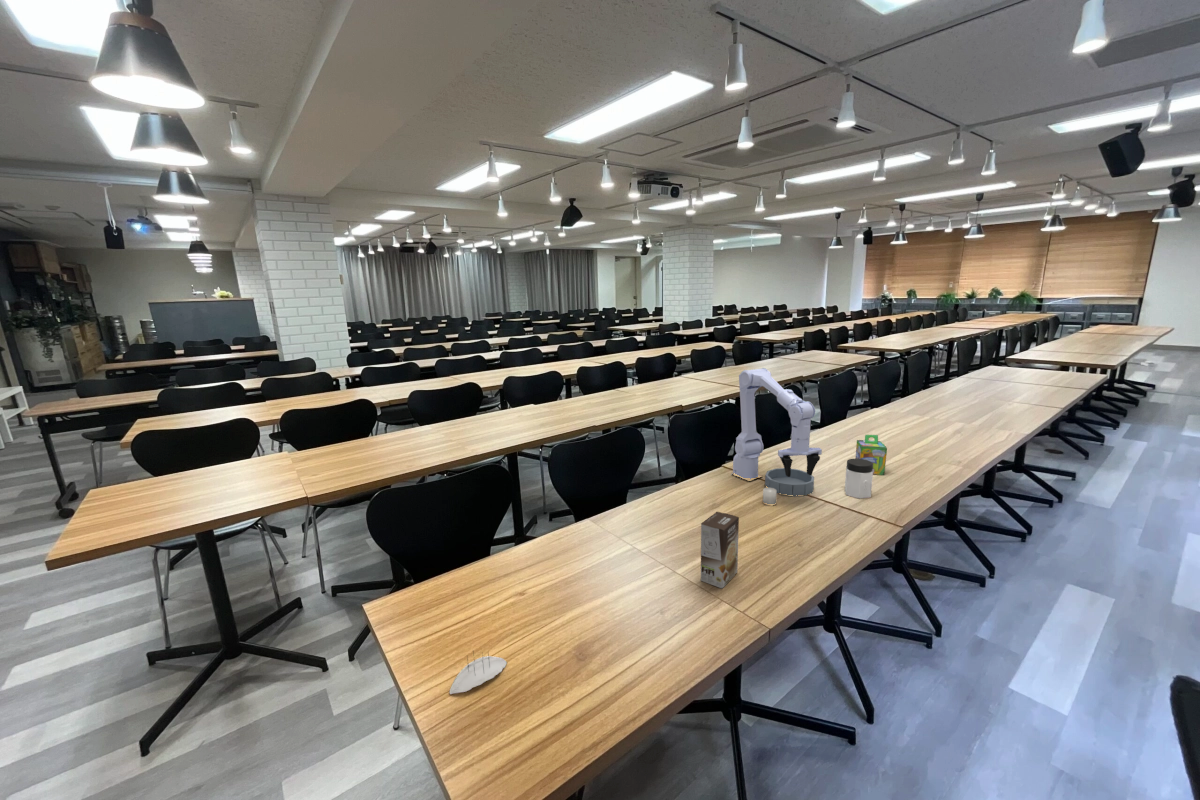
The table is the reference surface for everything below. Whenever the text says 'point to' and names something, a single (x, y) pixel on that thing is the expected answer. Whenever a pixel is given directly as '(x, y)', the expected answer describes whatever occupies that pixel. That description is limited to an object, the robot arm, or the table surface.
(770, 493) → the pebble
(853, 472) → the jar
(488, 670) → the pincushion
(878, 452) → the chalk box
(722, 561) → the coffee box
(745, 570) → the table surface
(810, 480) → the bowl
